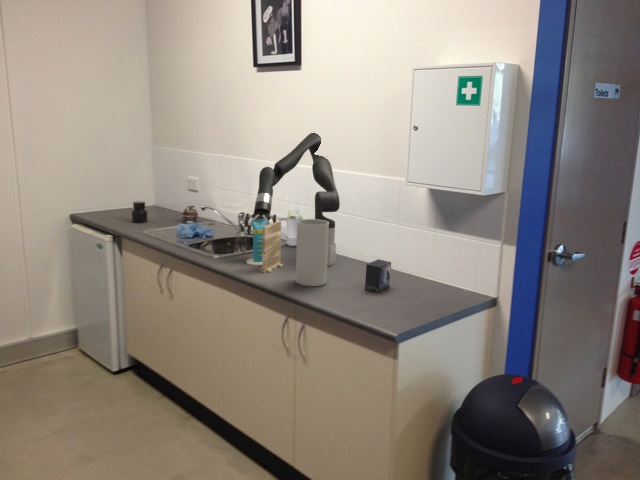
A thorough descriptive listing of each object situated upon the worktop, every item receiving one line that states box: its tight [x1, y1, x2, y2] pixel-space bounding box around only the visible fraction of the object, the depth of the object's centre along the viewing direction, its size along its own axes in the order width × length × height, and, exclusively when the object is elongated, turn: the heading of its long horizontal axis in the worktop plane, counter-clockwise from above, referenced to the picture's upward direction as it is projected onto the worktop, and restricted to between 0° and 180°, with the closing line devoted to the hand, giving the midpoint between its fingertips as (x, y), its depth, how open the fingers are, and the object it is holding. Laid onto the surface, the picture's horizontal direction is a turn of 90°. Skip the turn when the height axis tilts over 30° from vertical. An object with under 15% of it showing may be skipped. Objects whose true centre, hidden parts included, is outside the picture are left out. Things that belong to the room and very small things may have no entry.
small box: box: [364, 259, 392, 293], centre depth 227 cm, size 11×6×10 cm, turn 148°
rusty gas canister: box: [181, 205, 199, 224], centre depth 349 cm, size 10×10×10 cm
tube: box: [251, 219, 268, 262], centre depth 259 cm, size 7×5×19 cm, turn 125°
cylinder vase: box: [295, 218, 329, 287], centre depth 230 cm, size 12×12×25 cm
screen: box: [259, 220, 284, 274], centre depth 249 cm, size 5×14×20 cm, turn 155°
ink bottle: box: [131, 200, 148, 224], centre depth 345 cm, size 10×9×12 cm
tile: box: [246, 257, 262, 267], centre depth 261 cm, size 11×11×1 cm
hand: (258, 234), depth 257 cm, fingers open, 8 cm apart
